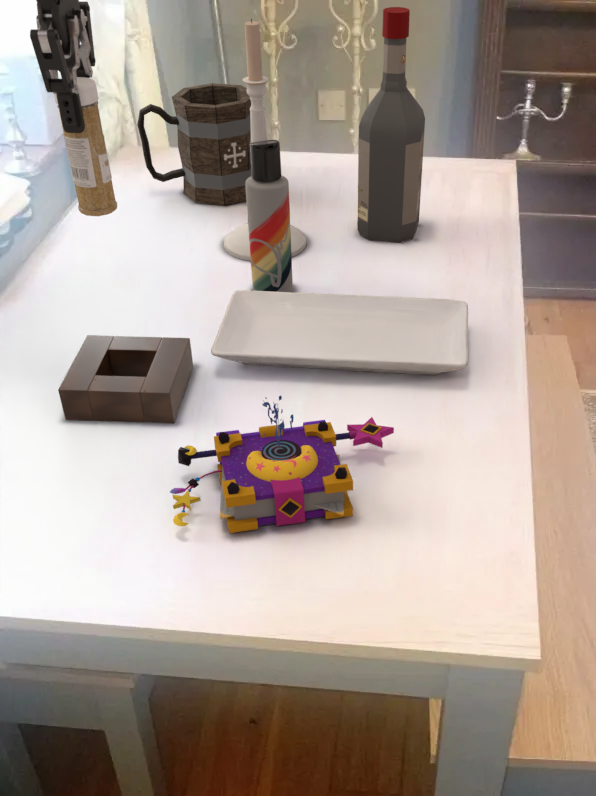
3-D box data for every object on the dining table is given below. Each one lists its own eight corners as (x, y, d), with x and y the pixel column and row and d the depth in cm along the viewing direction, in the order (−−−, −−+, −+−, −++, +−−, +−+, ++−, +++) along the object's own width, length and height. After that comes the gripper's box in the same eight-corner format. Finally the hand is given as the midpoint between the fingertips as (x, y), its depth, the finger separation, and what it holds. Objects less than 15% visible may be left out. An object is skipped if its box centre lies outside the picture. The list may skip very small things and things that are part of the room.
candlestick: (289, 266, 134) (279, 33, 113) (210, 255, 137) (186, 26, 116) (317, 233, 142) (313, 11, 121) (243, 223, 145) (226, 5, 124)
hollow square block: (65, 420, 104) (57, 389, 101) (93, 364, 113) (87, 334, 111) (174, 423, 104) (169, 393, 101) (193, 367, 113) (189, 337, 110)
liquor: (420, 221, 146) (433, 3, 125) (413, 244, 139) (426, 19, 118) (364, 218, 147) (368, 1, 126) (355, 240, 140) (357, 16, 119)
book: (165, 464, 98) (148, 364, 89) (387, 436, 102) (391, 336, 93) (177, 550, 88) (159, 446, 79) (423, 515, 92) (431, 411, 83)
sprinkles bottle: (125, 210, 105) (103, 80, 95) (92, 221, 102) (66, 89, 93) (103, 199, 107) (79, 72, 98) (70, 210, 105) (43, 81, 95)
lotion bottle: (261, 303, 125) (250, 150, 111) (247, 286, 129) (236, 136, 115) (298, 295, 127) (293, 144, 113) (284, 279, 131) (277, 130, 117)
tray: (465, 389, 109) (468, 363, 106) (210, 376, 111) (207, 350, 109) (466, 323, 121) (468, 299, 118) (235, 312, 123) (233, 288, 121)
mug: (258, 175, 161) (252, 81, 150) (264, 203, 151) (259, 105, 141) (147, 181, 159) (134, 86, 148) (147, 210, 149) (132, 111, 139)
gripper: (27, -80, 92) (64, 104, 104) (-19, -56, 81) (28, 145, 93) (100, -80, 91) (129, 104, 103) (62, -56, 81) (99, 146, 93)
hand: (80, 123), depth 98 cm, fingers closed on sprinkles bottle, 4 cm apart
